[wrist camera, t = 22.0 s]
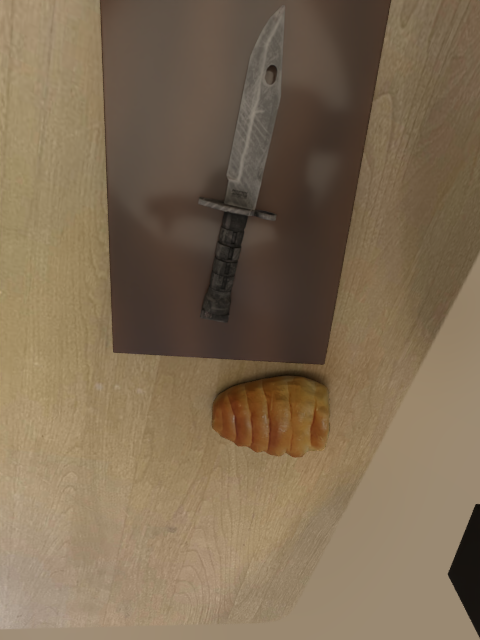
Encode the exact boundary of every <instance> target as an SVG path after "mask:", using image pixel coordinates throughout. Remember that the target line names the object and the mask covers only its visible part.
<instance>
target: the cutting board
mask: <svg viewBox="0 0 480 640" xmlns="http://www.w3.org/2000/svg"><path fill="white" fill-rule="evenodd" d="M390 3H391V0H100V11H101V38H102V65H103V92H104V119H105V146H106V172H107V199H108V226H109V253H110V280H111V307H112V334H113V352H114V353H131V354H148V355H165V356H182V357H200V358H217V359H234V360H252V361H269V362H286V363H304V364H321V365H324V364H325V358H326V353H327V347H328V342H329V336H330V331H331V325H332V320H333V314H334V309H335V303H336V298H337V293H338V287H339V282H340V276H341V271H342V265H343V260H344V254H345V249H346V243H347V238H348V232H349V227H350V221H351V216H352V211H353V205H354V200H355V194H356V189H357V183H358V178H359V172H360V167H361V161H362V156H363V150H364V145H365V140H366V134H367V129H368V123H369V118H370V112H371V107H372V101H373V96H374V90H375V85H376V79H377V74H378V68H379V63H380V58H381V52H382V47H383V41H384V36H385V30H386V25H387V19H388V14H389V8H390ZM282 5H285V18H284V37H283V56H282V75H281V98H280V103H279V107H278V111H277V116H276V120H275V124H274V129H273V133H272V137H271V142H270V146H269V150H268V154H267V159H266V163H265V167H264V172H263V176H262V182H261V186H260V190H259V195H258V199H257V203H256V207H255V210H263V211H268V212H271V213H274V214H276V215H277V216H276V220H275V221H272V220H266V219H262V218H259V217H256V216H248V219H247V223H246V228H245V229H244V231H245V232H244V236H243V240H242V243H241V246H242V247H241V252H240V256H239V259H238V260H237V261H238V264H237V268H236V273H235V277H234V281H233V285H232V288H231V294H230V298H231V304H230V308H229V319H228V323H224V322H218V321H213V320H208V319H202V318H200V314H201V308H202V304H203V302H204V297H205V294H206V293H207V291H208V288H209V285H210V278H211V273H212V270H213V263H214V258H215V256H216V254H215V252H216V247H217V242H218V241H219V235H220V231H221V226H222V224H223V223H222V220H223V215H224V211H221V210H218V209H214V208H211V207H207V206H204V205H200V204H198V201H199V197H203V198H209V199H215V200H222V201H224V199H225V195H226V190H227V185H228V178H227V170H228V165H229V160H230V155H231V150H232V145H233V140H234V135H235V130H236V125H237V120H238V115H239V110H240V105H241V100H242V95H243V90H244V85H245V80H246V75H247V70H248V65H249V60H250V56H251V53H252V51H253V49H254V47H255V44H256V42H257V40H258V38H259V36H260V34H261V32H262V30H263V28H264V27H265V25H266V24H267V22H268V21H269V19H270V17H271V16H272V15H273V14H274V13H275V12H276V11H277V10H278V9H279V8H280V7H281V6H282ZM276 74H277V70H276V67H274V66H269V67H268V68H267V70H266V75H265V80H266V83H267V84H269V85H272V84H273V83H274V82H275V79H276Z"/></svg>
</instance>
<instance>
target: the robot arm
mask: <svg viewBox="0 0 480 640" xmlns="http://www.w3.org/2000/svg"><path fill="white" fill-rule="evenodd" d="M448 576H449V578H450V580H451V582H452V583H453V585H454V588H455V590H456V592H457V593H458V596H459V597H460V600H461V602H462V604H463V606H464V608H465V610H466V612H467V614H468V616H469V618H470V619H471V622H472V623H473V625H474V627H475V629H476V631H477V633H478V635H479V637H480V504H476V505H475V507H474V510H473V512H472V515H471V517H470V520H469V523H468V525H467V527H466V530H465V532H464V535H463V537H462V540H461V542H460V545H459V548H458V550H457V553H456V555H455V557H454V560H453V563H452V565H451V568H450V570H449V572H448Z"/></svg>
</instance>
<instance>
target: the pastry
mask: <svg viewBox="0 0 480 640" xmlns="http://www.w3.org/2000/svg"><path fill="white" fill-rule="evenodd" d="M329 400H330V399H329V390H328V388H327V387H326V386H324V385H323V384H321V383H319V382H316V381H313V380H310V379H308V378H305V377H302V376H288V375H285V376H279V377H272V378H266V379H260V380H257V381H253V382H252V381H251V382H246V383H242V384H239V385H236V386H233V387H231V388H229V389H228V390H226V391H224V392H222V393H220V394H219V395H218V396H217V398H216V399H215V400H214V402H213V407H212V428H213V429H214V430H215V431H216V432H218V433H219V434H220V436H222V437H224V438H226V439H228V440H230V441H232V442H234V443H235V444H236V445H237V446H247V447H249V448H251V449H252V450H253V451H255V452H262V451H265V452H266V453H268V454H270V455H275V456H282V455H283V454H284V453H288V454H289V455H290V456H292V457H302V456H303V455H304V454H305V453H307V452H308V451H316V450H319V451H322V450H323V449H324V448H325V447H326V443H327V440H328V435H329V431H330V423H329V418H330V404H329Z"/></svg>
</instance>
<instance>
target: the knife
mask: <svg viewBox="0 0 480 640" xmlns="http://www.w3.org/2000/svg"><path fill="white" fill-rule="evenodd" d="M284 18H285V5H282V6H281V7H280V8H279V9H278V10H277V11H276V12H275V13H274V14H273V15H272V16H271V17H270V19H269V21H268V22H267V24H266V25H265V27H264V28H263V30H262V32H261V34H260V36H259V38H258V40H257V42H256V44H255V47H254V49H253V51H252V53H251V56H250V60H249V65H248V70H247V75H246V80H245V85H244V90H243V95H242V100H241V105H240V110H239V115H238V120H237V125H236V130H235V135H234V140H233V145H232V150H231V155H230V160H229V165H228V170H227V178H228V185H227V190H226V195H225V199H224V201H222V200H215V199H209V198H203V197H199V201H198V204H200V205H204V206H207V207H211V208H214V209H218V210H221V211H224V215H223V220H222V223H223V224H222V226H221V231H220V235H219V241H218V242H217V247H216V252H215V254H216V256H215V258H214V263H213V270H212V273H211V278H210V285H209V288H208V291H207V293H206V294H205V297H204V302H203V304H202V308H201V314H200V318H202V319H208V320H213V321H218V322H224V323H228V319H229V308H230V304H231V298H230V294H231V288H232V285H233V281H234V277H235V273H236V268H237V264H238V261H237V260H238V259H239V256H240V252H241V247H242V246H241V243H242V240H243V236H244V232H245V231H244V229H245V228H246V223H247V219H248V216H256V217H259V218H262V219H266V220H272V221H275V220H276V216H277V215H276V214H274V213H271V212H268V211H263V210H255V207H256V203H257V199H258V195H259V190H260V186H261V182H262V176H263V172H264V167H265V163H266V159H267V154H268V150H269V146H270V142H271V137H272V133H273V129H274V124H275V120H276V116H277V111H278V107H279V103H280V98H281V75H282V56H283V37H284ZM269 66H274V67H276V70H277V74H276V79H275V82H274V83H273V84H272V85H269V84H267V83H266V80H265V75H266V70H267V68H268V67H269Z"/></svg>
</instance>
